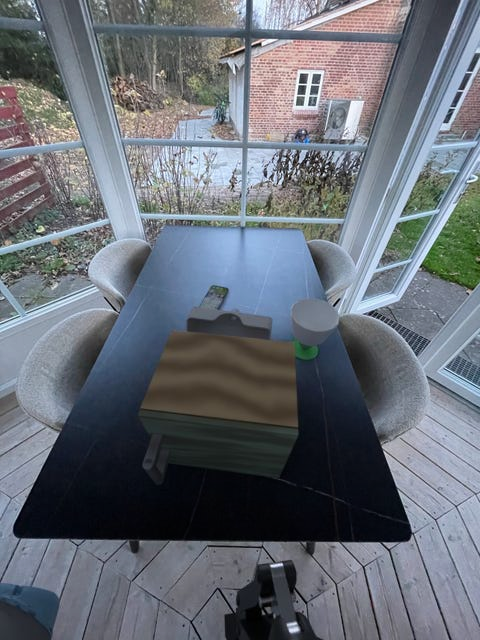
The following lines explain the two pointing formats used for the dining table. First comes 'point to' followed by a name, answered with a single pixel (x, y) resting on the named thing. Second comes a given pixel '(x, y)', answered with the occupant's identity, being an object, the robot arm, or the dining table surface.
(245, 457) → the cupboard door
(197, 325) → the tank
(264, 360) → the cupboard
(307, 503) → the dining table surface
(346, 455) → the dining table surface
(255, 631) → the robot arm
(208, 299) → the smartphone
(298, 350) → the cup
